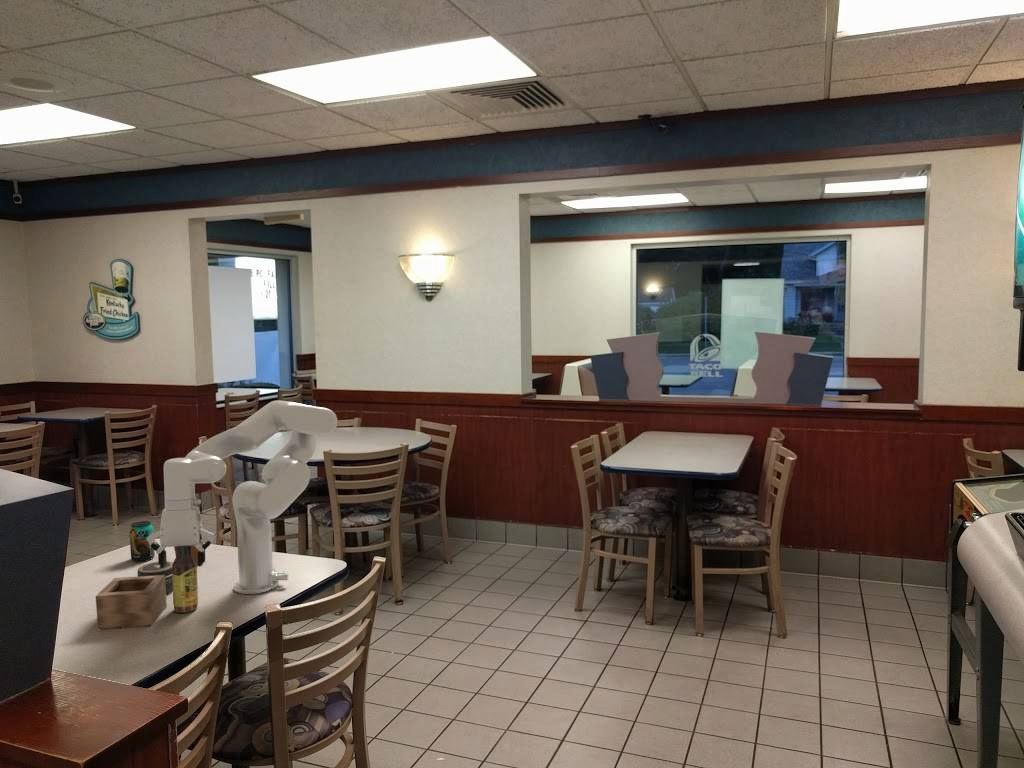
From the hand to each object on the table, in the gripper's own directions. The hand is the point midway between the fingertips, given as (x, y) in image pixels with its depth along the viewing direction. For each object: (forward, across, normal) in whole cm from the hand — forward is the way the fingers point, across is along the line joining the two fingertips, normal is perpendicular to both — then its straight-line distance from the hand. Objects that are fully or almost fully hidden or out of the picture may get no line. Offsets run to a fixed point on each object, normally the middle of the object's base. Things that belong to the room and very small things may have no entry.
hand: (182, 565), depth 202 cm
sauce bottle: (+13, -1, 0) cm, 13 cm away
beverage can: (+12, +25, -46) cm, 54 cm away
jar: (+13, +11, -16) cm, 23 cm away
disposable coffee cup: (+12, +8, -36) cm, 39 cm away
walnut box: (+13, +12, +3) cm, 18 cm away
